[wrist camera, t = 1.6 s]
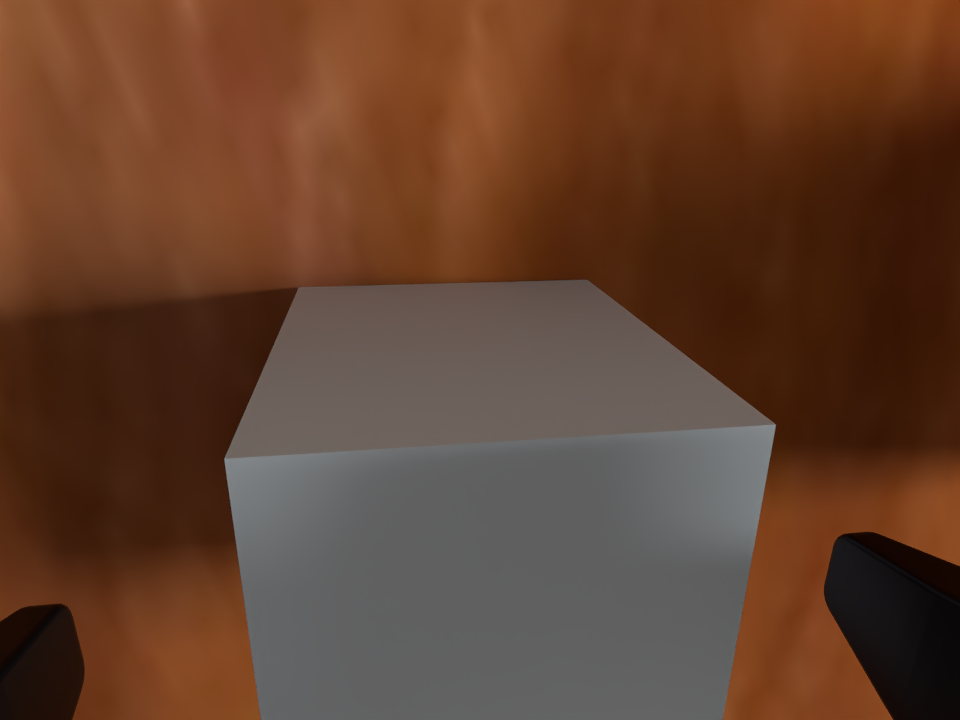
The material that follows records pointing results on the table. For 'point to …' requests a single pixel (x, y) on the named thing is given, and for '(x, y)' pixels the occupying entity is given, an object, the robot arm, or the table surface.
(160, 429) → the table surface
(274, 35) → the table surface
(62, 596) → the table surface
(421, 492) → the slate block
